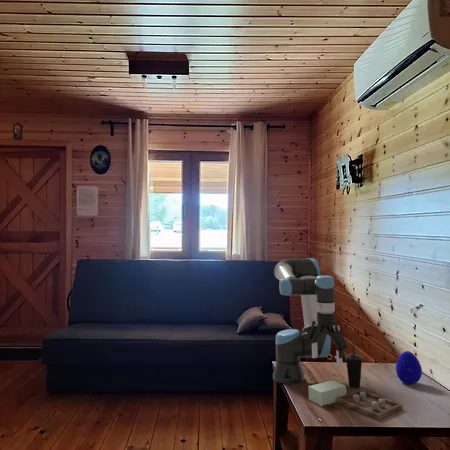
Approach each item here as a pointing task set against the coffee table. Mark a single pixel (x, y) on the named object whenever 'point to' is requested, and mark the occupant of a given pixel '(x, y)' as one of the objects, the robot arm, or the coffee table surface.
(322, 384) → the grey boxy block
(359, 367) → the drinking cup
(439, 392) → the coffee table surface
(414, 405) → the coffee table surface
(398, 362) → the ornament
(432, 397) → the coffee table surface
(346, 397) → the peg frame
